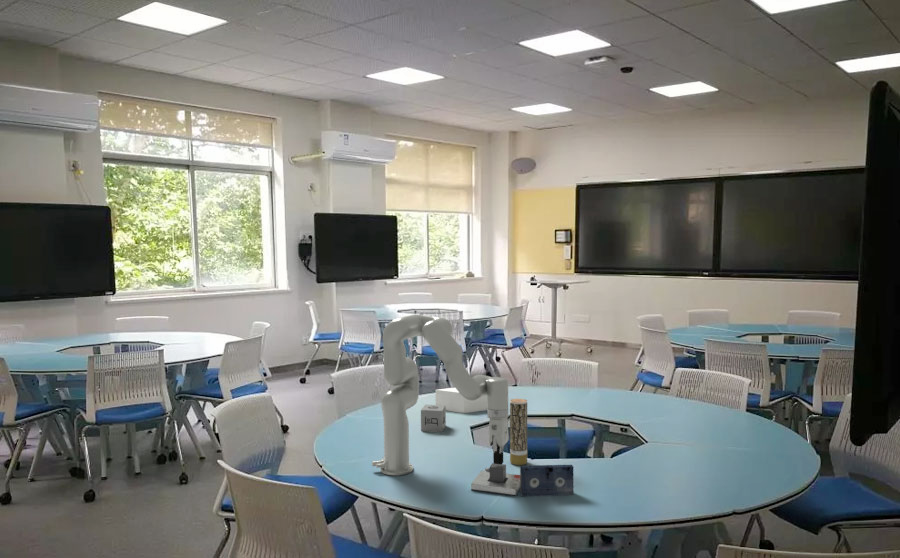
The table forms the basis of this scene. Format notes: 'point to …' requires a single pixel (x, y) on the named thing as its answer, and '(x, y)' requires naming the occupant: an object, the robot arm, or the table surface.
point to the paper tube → (518, 431)
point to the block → (459, 401)
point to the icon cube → (433, 418)
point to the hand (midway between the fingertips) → (498, 463)
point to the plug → (497, 473)
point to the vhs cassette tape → (546, 480)
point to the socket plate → (496, 484)
